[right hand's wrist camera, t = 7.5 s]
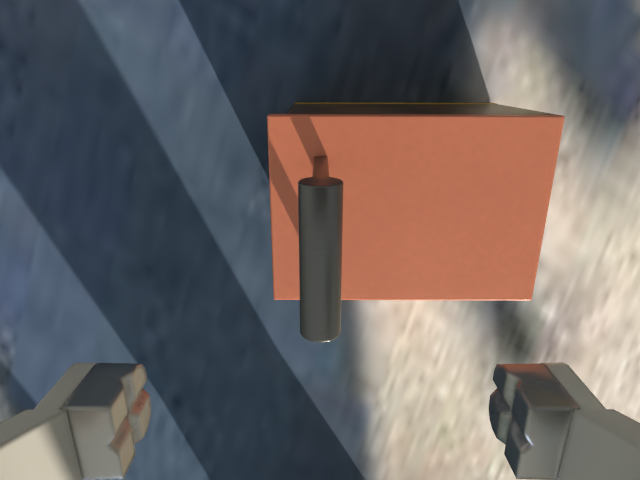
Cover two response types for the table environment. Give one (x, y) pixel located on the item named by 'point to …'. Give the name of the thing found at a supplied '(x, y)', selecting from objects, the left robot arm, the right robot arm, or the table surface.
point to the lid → (406, 208)
